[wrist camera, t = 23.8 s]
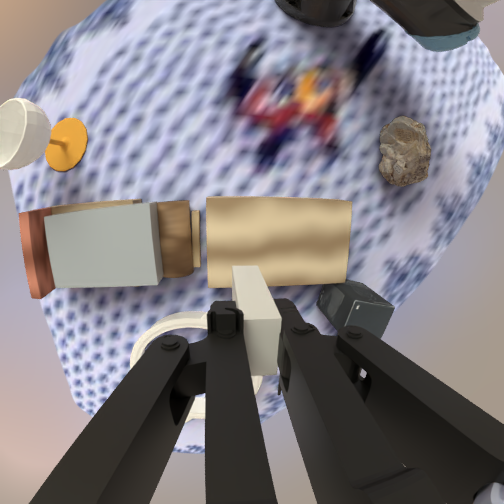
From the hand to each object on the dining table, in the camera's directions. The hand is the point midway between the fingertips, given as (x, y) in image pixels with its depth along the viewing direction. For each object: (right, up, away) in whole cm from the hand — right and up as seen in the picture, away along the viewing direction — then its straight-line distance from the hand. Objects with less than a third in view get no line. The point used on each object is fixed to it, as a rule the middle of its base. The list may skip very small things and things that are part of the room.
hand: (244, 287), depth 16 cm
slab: (-20, +3, +18) cm, 27 cm away
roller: (-8, +4, +22) cm, 23 cm away
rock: (+24, +18, +24) cm, 39 cm away
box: (+16, -5, +29) cm, 33 cm away
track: (-9, +4, +23) cm, 25 cm away
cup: (-30, +20, +17) cm, 39 cm away
